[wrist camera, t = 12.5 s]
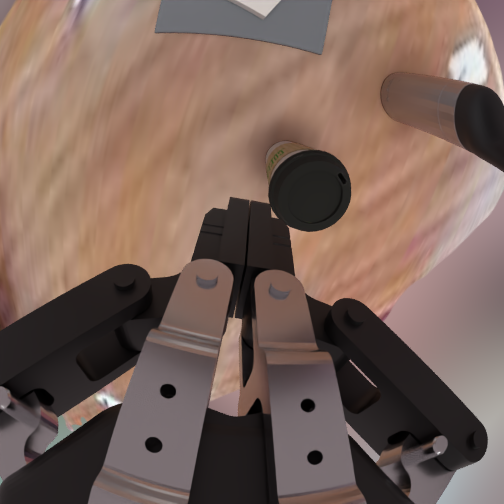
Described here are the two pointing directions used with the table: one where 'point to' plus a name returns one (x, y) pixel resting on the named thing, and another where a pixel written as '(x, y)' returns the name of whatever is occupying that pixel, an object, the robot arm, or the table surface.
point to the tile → (257, 6)
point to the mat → (250, 21)
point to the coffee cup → (306, 186)
